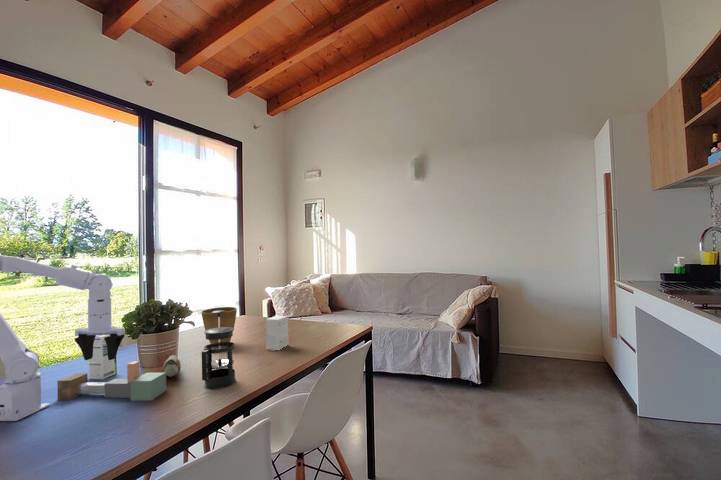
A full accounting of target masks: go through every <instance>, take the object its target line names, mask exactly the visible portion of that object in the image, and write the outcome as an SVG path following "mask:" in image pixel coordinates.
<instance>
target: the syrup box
mask: <svg viewBox="0 0 721 480" xmlns="http://www.w3.org/2000/svg"><path fill="white" fill-rule="evenodd" d="M108 336H110V335H96V336H95V340H94V344H93V357H92V359H89V360H88V379H89V380H104V379H107V378H110V377H113V376H114V375H117V373H118V368H117V367H118V366H117V363H118V362H117V357H116V358H115V359H112V360H109V359H108V349H107V345H106V342H105V340H104V338H105V337H108Z"/></svg>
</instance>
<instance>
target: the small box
mask: <svg viewBox="0 0 721 480" xmlns="http://www.w3.org/2000/svg"><path fill="white" fill-rule="evenodd" d="M264 321H265V342H266V345H265V347H266V350H267V349H273V350H272V351H275V350H279V351H281V350H283V349H284V348H283V347H285V346H287V345H289V343H290V342H289V341H290V340H289V339H290V338H289V317H288V316H287V315H273V316H272V317H269V318H266V319H265V320H264ZM287 347H288V346H287ZM282 348H283V349H282ZM285 348H286V347H285ZM280 349H281V350H280Z"/></svg>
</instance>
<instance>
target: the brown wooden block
mask: <svg viewBox="0 0 721 480" xmlns="http://www.w3.org/2000/svg"><path fill="white" fill-rule="evenodd" d="M88 379H89V377H88V373H85V372H84V373H82V372H81V373H72V374H71V375H68V376H65V377H64V378H61V379H58V380H57V382H56V384H57V400H59V401H60V400H61V401H62V400H63V401H65V400H67V401H68V400H69V401H70V400H72V399H74V398H76V397H79V396H80V395H82V394H76V385H78V384H80V383H82V382H88Z"/></svg>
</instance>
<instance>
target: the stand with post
mask: <svg viewBox="0 0 721 480" xmlns="http://www.w3.org/2000/svg"><path fill="white" fill-rule="evenodd" d="M126 367H127V368H126V369H127V371H126V373H127V378H114V379H112V380H109V381H106V382H107V383H105V394H104V398H108V399H109V398H111V399H112V398H123V399H124V398H127V399H128V398H130V399H131V381H132V380H134V379H136V378H137V377H139V376H141V375H140V373H141V371H140V370H141V369H140V361H137V360H136V361H135V360H134V361H131V362H129V363H127V365H126Z"/></svg>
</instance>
